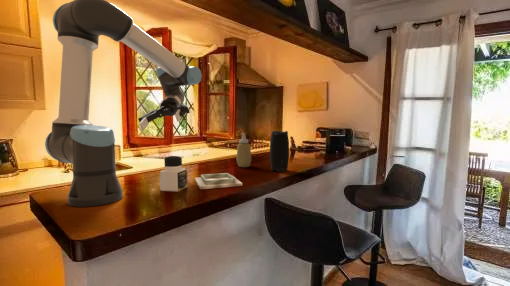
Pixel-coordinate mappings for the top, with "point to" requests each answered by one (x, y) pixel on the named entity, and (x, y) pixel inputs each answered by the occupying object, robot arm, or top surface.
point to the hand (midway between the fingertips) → (159, 122)
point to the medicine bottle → (173, 175)
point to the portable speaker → (279, 151)
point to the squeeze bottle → (243, 152)
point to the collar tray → (217, 181)
